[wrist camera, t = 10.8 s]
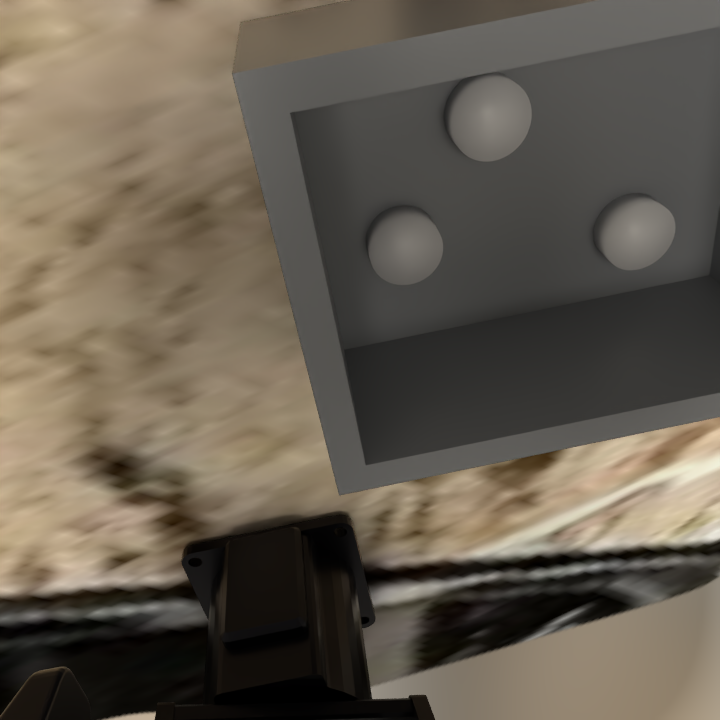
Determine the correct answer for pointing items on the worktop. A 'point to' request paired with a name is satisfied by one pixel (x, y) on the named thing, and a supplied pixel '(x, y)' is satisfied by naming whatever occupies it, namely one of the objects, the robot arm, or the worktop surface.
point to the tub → (492, 221)
